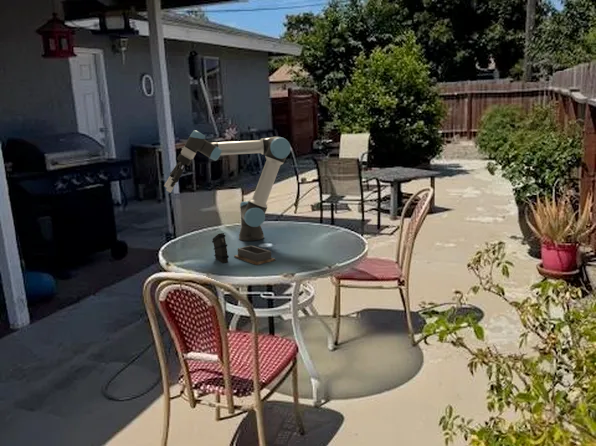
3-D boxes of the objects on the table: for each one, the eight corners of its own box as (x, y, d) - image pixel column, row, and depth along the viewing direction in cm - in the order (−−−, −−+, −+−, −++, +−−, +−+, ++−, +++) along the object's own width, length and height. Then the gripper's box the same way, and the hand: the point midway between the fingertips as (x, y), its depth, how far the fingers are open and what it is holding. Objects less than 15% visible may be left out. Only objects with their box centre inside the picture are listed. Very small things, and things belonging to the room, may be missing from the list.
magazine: (224, 261, 285) (218, 233, 287) (216, 267, 296) (210, 240, 299) (231, 260, 286) (224, 232, 289) (223, 265, 298) (217, 239, 300)
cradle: (251, 252, 304) (251, 245, 303) (271, 258, 290) (271, 251, 289) (237, 255, 298) (237, 248, 297) (257, 262, 284) (256, 254, 284)
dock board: (252, 253, 306) (252, 251, 306) (275, 260, 290) (275, 258, 290) (234, 257, 299) (234, 255, 298) (256, 265, 283) (256, 263, 282)
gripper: (177, 150, 320) (159, 182, 321) (182, 155, 297) (163, 190, 298) (189, 157, 323) (171, 188, 324) (195, 162, 300) (175, 196, 301)
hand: (167, 189), depth 311 cm, fingers open, 13 cm apart
